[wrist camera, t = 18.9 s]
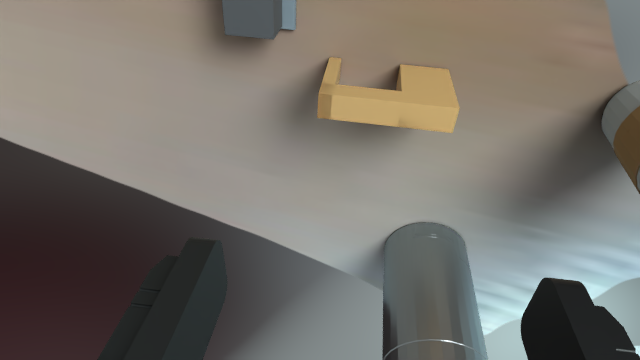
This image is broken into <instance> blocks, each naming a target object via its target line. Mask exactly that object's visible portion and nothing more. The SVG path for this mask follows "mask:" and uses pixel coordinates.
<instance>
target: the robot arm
mask: <svg viewBox="0 0 640 360" xmlns="http://www.w3.org/2000/svg"><path fill="white" fill-rule="evenodd" d="M226 291H227V275H226V268H225V261H224V255H223V248H222V243H221V241H220V240H213V239H204V238H195V237H191V238H190V239H188V241H187V242H186V244H185V246H184V248H183V250H182V251H181V253H180V255H179V257H177V256H168V255H167V256H166V257H165V258H164V259H163V260H161V261H160V262H159V263H158V264H157V265H156V266H154V267H153V268H152V269H151V270H150V272H149V273H148V275H147V276H146V278H145V280H144V282H143V283H142V285H141V287H140V290H139V292H137V293H136V295H135V297H134V299H133V300H132V302H131V306H130V307H128V309H127V310H126V312H125V314H124V315H123V317H122V319H121V320H120V322H119V324H118V326H117V327H116V329H115V331H114V332H113V334H112V336H111V337H110V339H109V341H108V343H107V344H106V346H105V348H104V350H103V351H102V353H101V354H100V356H99V358H98V359H97V360H203V357H204V354H205V352H206V349H207V346H208V344H209V341H210V338H211V336H212V333H213V330H214V328H215V325H216V322H217V320H218V317H219V314H220V312H221V309H222V306H223V303H224V300H225V296H226ZM521 336H522V341H523V344H524V347H525V351H526V354H527V357H528V360H640V357H639V355H638V354H636V353H635V350H636V349H635V348H634V346H633V344H632V342H631V340H630V338H629V337H628V335H627V333H626V331H625V329H624V327H623V326H622V325H621V324H620V323H619V322H618V321H617V320H616V319H615V318H614V317H613V316H612V315H611V314H610V313H609V312H608V311H607V310H606V309H605V308H604V307H602V306H601V307H600V306H594V304H593V302H592V300H591V298H590V296H589V294H588V292H587V290H586V288H585V286H584V285H583V284H582V283H581V282H579V281H573V280H564V279H555V278H544V279H542V280H541V282H540V283H539V285H538V287H537V289H536V291H535V293H534V295H533V297H532V299H531V300H530V302H529V304H528V306H527V308H526V310H525V312H524V314H523V316H522V320H521ZM383 360H488V357H487V352H486V347H485V342H484V337H483V332H482V327H481V322H480V316H479V311H478V306H477V301H476V296H475V291H474V286H473V281H472V276H471V270H470V265H469V261H468V256H467V251H466V246H465V243H464V241H463V239H462V237H461V236H460V235H459V234H458V233H457V232H455V231H454V230H452V229H450V228H448V227H446V226H443V225H440V224H435V223H416V224H411V225H407V226H405V227H403V228H400V229H398V230H397V231H396V232H394V233H393V234H392V235H391V236H390V237H389V238H388V240H387V242H386V244H385V248H384V284H383Z"/></svg>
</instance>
